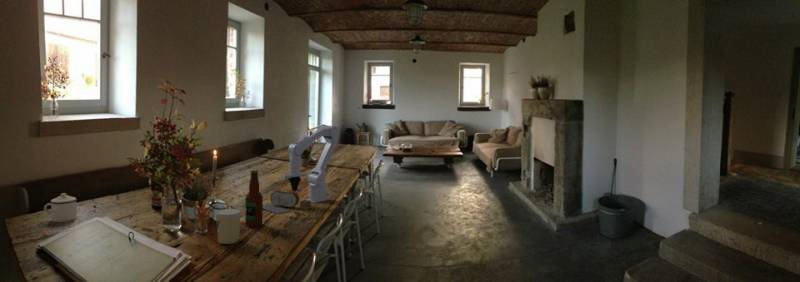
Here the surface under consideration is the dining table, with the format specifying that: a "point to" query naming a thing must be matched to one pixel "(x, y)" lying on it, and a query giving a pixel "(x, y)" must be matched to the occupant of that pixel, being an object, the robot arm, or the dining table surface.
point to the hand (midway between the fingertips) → (294, 190)
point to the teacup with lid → (62, 208)
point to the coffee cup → (228, 225)
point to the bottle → (253, 202)
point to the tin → (284, 198)
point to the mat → (275, 208)
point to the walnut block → (305, 204)
